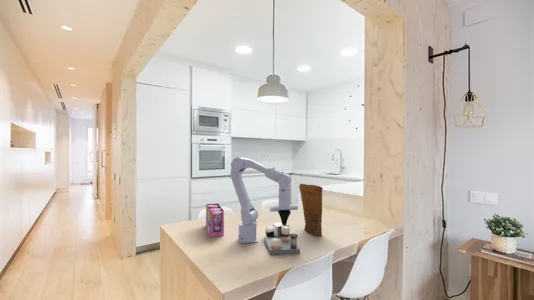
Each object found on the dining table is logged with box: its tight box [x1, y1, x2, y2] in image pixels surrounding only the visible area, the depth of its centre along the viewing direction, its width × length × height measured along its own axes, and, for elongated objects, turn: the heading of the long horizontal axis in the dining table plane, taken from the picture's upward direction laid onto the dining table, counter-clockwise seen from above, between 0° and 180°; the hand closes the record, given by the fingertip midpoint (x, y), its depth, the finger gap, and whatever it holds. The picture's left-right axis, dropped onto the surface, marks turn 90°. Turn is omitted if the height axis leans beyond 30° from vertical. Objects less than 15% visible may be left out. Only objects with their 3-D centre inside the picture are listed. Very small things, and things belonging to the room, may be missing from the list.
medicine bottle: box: [265, 221, 291, 237], centre depth 142 cm, size 7×7×12 cm
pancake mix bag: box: [298, 183, 323, 237], centre depth 152 cm, size 7×19×28 cm, turn 27°
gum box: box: [205, 203, 225, 238], centre depth 153 cm, size 24×8×14 cm, turn 19°
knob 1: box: [271, 238, 281, 248], centre depth 124 cm, size 4×4×3 cm
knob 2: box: [281, 226, 291, 235], centre depth 135 cm, size 4×4×3 cm
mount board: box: [263, 236, 301, 256], centre depth 129 cm, size 14×18×2 cm
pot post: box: [290, 233, 298, 249], centre depth 123 cm, size 4×4×6 cm
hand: (284, 224), depth 132 cm, fingers closed
